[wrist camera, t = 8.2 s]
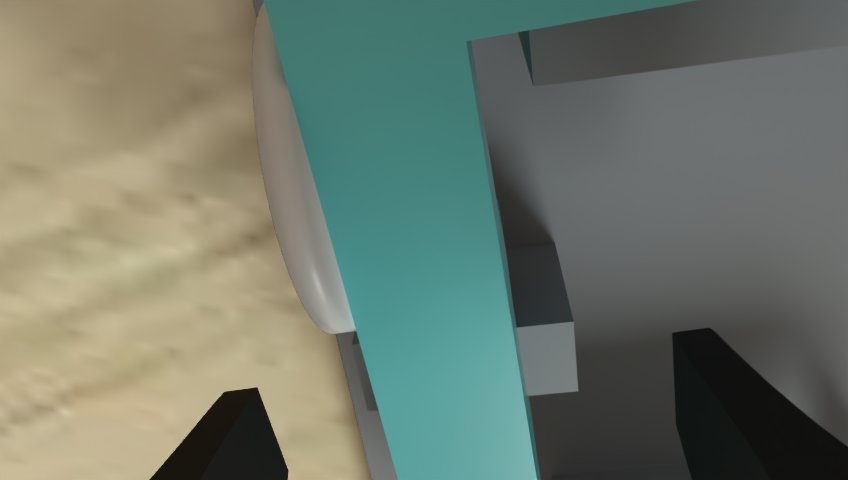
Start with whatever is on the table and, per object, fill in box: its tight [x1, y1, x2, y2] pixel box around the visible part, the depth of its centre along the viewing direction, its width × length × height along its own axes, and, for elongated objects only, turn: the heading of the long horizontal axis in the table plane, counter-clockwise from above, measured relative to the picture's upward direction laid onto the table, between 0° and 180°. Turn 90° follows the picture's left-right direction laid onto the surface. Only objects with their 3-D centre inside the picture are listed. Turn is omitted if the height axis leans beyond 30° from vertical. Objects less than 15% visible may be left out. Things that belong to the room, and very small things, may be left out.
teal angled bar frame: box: [252, 0, 697, 480], centre depth 13 cm, size 10×16×5 cm, turn 11°
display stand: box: [253, 0, 848, 480], centre depth 15 cm, size 13×20×6 cm, turn 8°
